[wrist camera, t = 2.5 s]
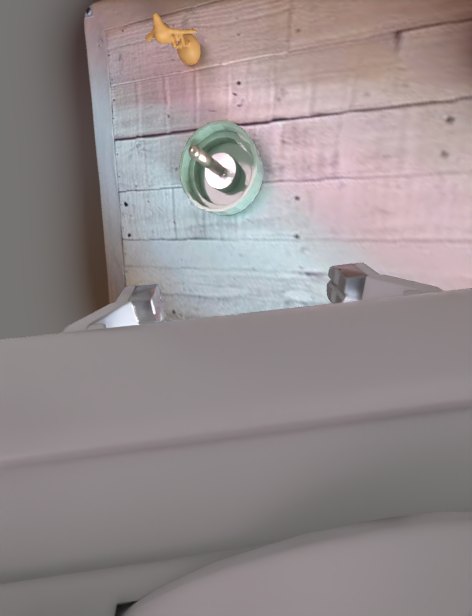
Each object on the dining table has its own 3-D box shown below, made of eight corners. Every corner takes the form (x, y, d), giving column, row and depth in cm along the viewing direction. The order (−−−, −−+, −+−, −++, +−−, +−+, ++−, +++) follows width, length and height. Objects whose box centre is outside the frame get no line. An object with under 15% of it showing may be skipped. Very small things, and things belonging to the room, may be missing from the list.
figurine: (216, 40, 46) (181, -27, 35) (214, 81, 48) (180, 29, 36) (174, 47, 49) (128, -13, 37) (173, 86, 50) (129, 39, 39)
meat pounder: (222, 151, 49) (186, 116, 37) (247, 169, 48) (219, 140, 36) (205, 181, 51) (166, 158, 39) (229, 198, 51) (197, 181, 38)
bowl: (217, 117, 49) (206, 103, 44) (279, 160, 47) (274, 150, 42) (180, 189, 54) (166, 183, 49) (234, 230, 52) (225, 228, 47)
